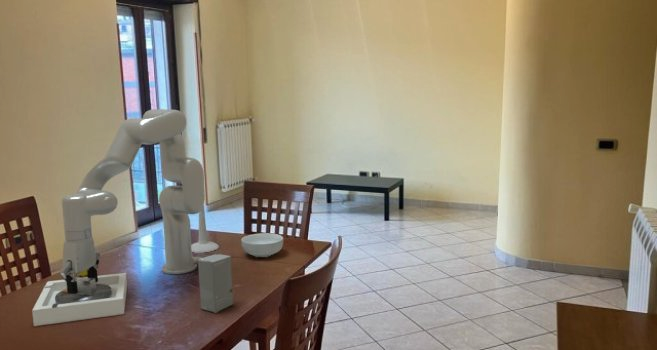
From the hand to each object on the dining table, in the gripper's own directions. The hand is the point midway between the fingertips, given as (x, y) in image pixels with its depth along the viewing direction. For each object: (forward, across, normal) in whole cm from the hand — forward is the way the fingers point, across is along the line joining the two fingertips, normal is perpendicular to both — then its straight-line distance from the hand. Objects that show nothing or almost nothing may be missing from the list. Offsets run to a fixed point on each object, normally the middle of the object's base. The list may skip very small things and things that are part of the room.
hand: (83, 287), depth 163 cm
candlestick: (+6, -61, +12) cm, 63 cm away
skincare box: (+6, -6, +42) cm, 43 cm away
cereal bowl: (+6, -58, +40) cm, 70 cm away
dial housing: (+6, 0, 0) cm, 6 cm away
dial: (+3, 0, 0) cm, 3 cm away
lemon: (+6, -22, -16) cm, 28 cm away
